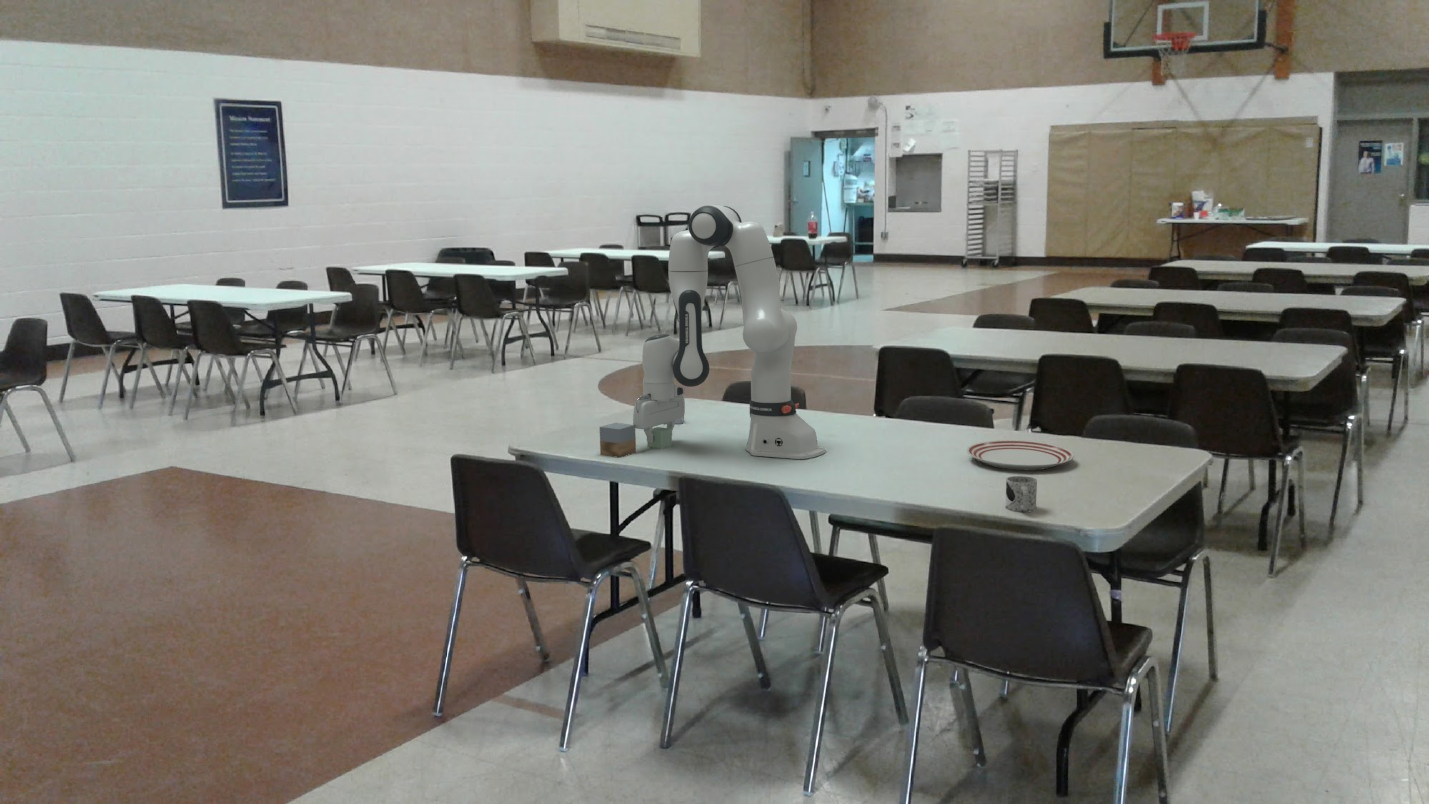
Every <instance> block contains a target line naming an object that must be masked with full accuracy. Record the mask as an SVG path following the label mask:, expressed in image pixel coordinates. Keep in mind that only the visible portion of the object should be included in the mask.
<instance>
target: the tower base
mask: <svg viewBox="0 0 1429 804" xmlns="http://www.w3.org/2000/svg"><path fill="white" fill-rule="evenodd" d="M636 442H637V441H636V439H634V440H631V441H627V442H624V443H620V444H618V443H611V442H604V441H600V440H599V445H600V447H599V449H600V456H608V457H614V456H617V457H616V458H622V457H621V456H623V457H627V456H629V455H628V454H630V455H633V454H637V453H636V452H637V444H636ZM632 453H633V454H632ZM626 455H627V456H626Z"/></svg>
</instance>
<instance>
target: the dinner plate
mask: <svg viewBox="0 0 1429 804" xmlns="http://www.w3.org/2000/svg"><path fill="white" fill-rule="evenodd" d="M966 453H967V454H968V455H969V456H971V457H973V458H974V459H976V460H977V461H979V462H983V463H985V464H987V465H988V464H989V465H988V466H991V467H994V466H995V468H1000V469H1005V468H1007V469H1006V470H1014V469H1020V470H1019V471H1025V470H1024V469H1039V470H1043V469H1042V468H1046V469H1049V467H1050V468H1053V467H1055V466H1056V467H1057V466H1060V465H1063V464H1065V463H1067V462H1070V461H1071V460H1073V459H1074V457H1075V455H1074V453H1073V452H1072V451H1071V450H1070V449H1068V448H1065V447H1063V446H1059V445H1055V444H1052V443H1047V442H1041V441H1033V440H1022V439H1021V440H1020V439H1001V440H1000V439H999V440H989V441H988V440H987V441H983V442H978V443H973V444H971V445H969V446H967V448H966ZM1022 469H1023V470H1022Z"/></svg>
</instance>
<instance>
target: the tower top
mask: <svg viewBox="0 0 1429 804" xmlns="http://www.w3.org/2000/svg"><path fill="white" fill-rule="evenodd" d="M634 439H636V428H635V425H633V424H629V423H620V422H613V423H608V424H604V425H601V426H599V442H600V441H604V442H611V443H618V444H620V443H624V442H627V441H631V440H634Z"/></svg>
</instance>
